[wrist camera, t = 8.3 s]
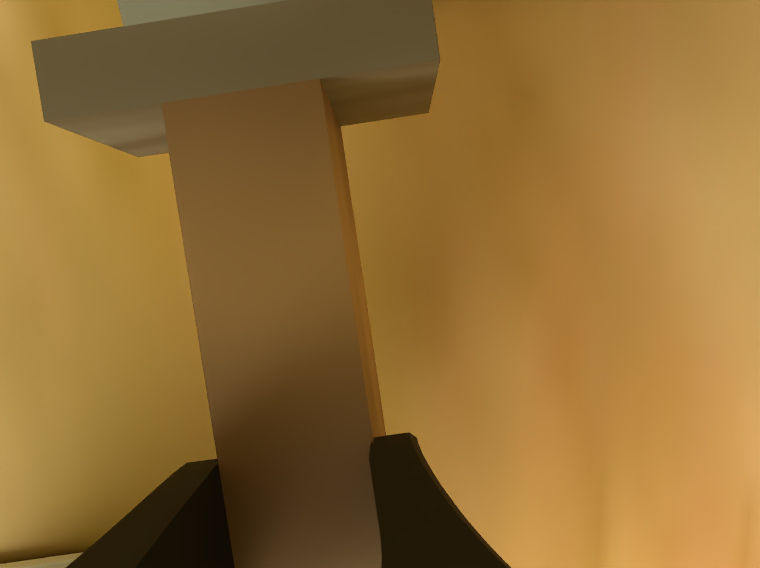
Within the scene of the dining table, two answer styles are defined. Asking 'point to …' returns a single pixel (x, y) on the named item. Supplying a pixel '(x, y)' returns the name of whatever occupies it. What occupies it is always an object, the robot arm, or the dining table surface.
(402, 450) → the robot arm
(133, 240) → the dining table surface
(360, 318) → the hammer
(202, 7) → the mat
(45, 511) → the dining table surface
